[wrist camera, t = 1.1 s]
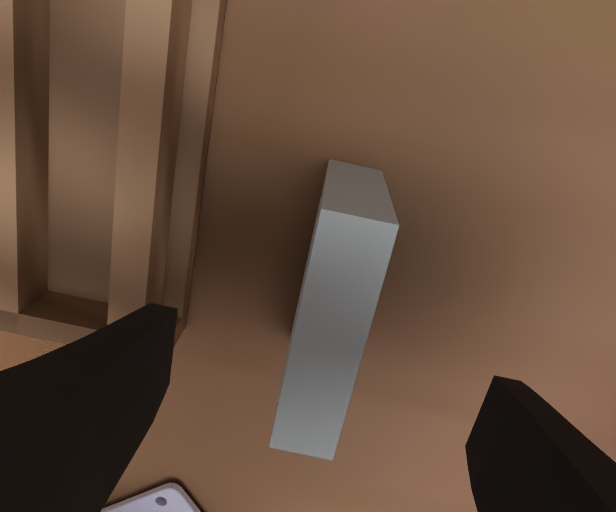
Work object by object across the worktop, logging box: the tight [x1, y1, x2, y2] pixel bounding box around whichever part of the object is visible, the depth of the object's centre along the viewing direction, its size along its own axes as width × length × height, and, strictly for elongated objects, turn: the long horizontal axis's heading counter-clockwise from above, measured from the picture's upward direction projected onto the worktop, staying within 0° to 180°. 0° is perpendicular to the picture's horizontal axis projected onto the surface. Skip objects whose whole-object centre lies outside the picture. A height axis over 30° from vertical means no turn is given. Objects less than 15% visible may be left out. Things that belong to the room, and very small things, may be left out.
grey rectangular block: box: [269, 159, 399, 461], centre depth 15 cm, size 7×2×6 cm, turn 169°
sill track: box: [0, 0, 227, 346], centre depth 13 cm, size 16×7×7 cm, turn 169°
